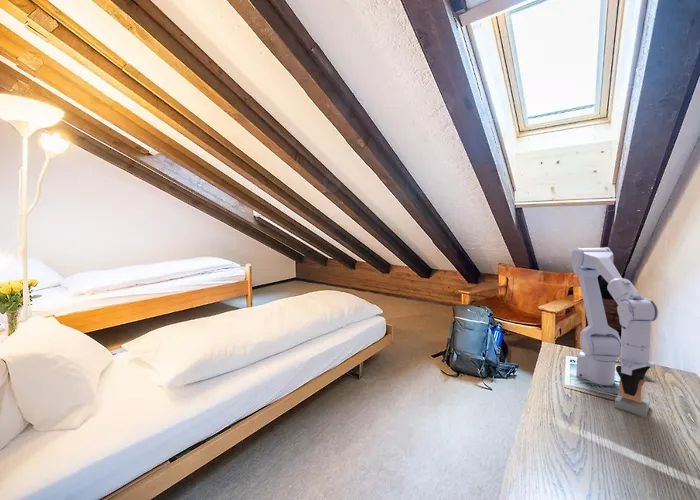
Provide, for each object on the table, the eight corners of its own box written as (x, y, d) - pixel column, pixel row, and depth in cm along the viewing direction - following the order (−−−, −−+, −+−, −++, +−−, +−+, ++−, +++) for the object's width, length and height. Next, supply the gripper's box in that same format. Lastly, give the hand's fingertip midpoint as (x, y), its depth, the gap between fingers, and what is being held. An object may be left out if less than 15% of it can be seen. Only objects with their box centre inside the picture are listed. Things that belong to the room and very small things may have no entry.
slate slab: (614, 406, 87) (614, 399, 87) (619, 397, 92) (619, 390, 91) (646, 417, 83) (646, 410, 82) (649, 406, 87) (649, 399, 87)
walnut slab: (610, 412, 88) (611, 406, 88) (618, 403, 92) (618, 396, 92) (644, 425, 82) (645, 418, 82) (651, 414, 86) (651, 408, 86)
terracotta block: (618, 395, 87) (619, 379, 87) (623, 389, 90) (624, 374, 89) (640, 402, 84) (641, 386, 83) (644, 396, 86) (645, 380, 86)
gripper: (648, 356, 78) (645, 407, 79) (661, 340, 86) (658, 387, 88) (612, 347, 83) (609, 395, 85) (627, 333, 92) (625, 377, 93)
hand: (632, 390), depth 87 cm, fingers closed on terracotta block, 4 cm apart
